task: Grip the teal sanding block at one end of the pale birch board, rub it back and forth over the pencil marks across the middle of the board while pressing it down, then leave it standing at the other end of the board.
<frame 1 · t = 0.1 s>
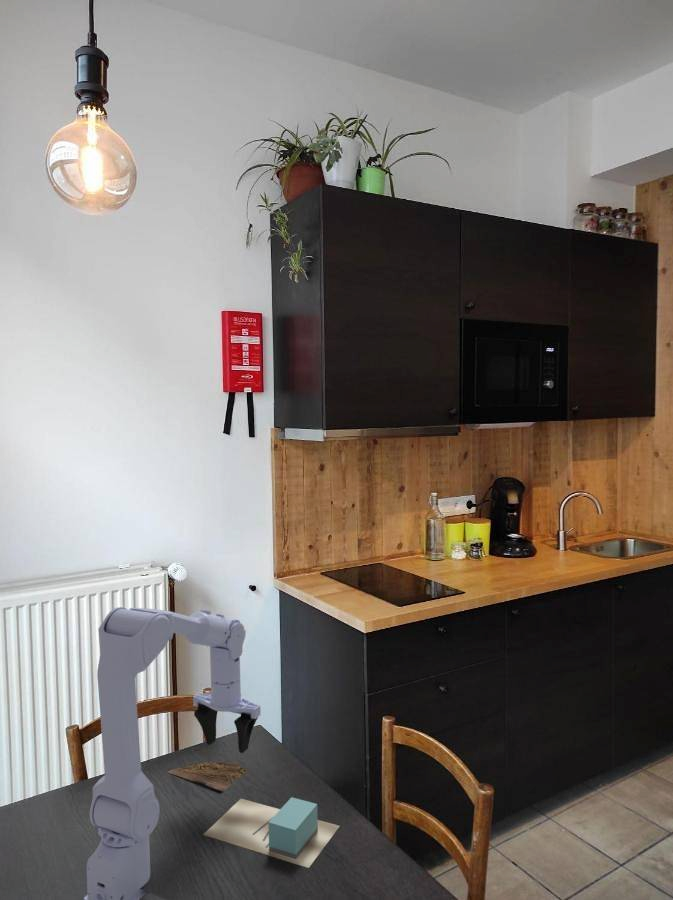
hand: (227, 746, 131), 10 cm above the table, tool pointing down, fingers open, 7 cm apart
wooden fragment: (225, 780, 139), on the table
birch board: (272, 838, 119), on the table
sanding block: (293, 840, 116), point 1 cm above the table, touching birch board
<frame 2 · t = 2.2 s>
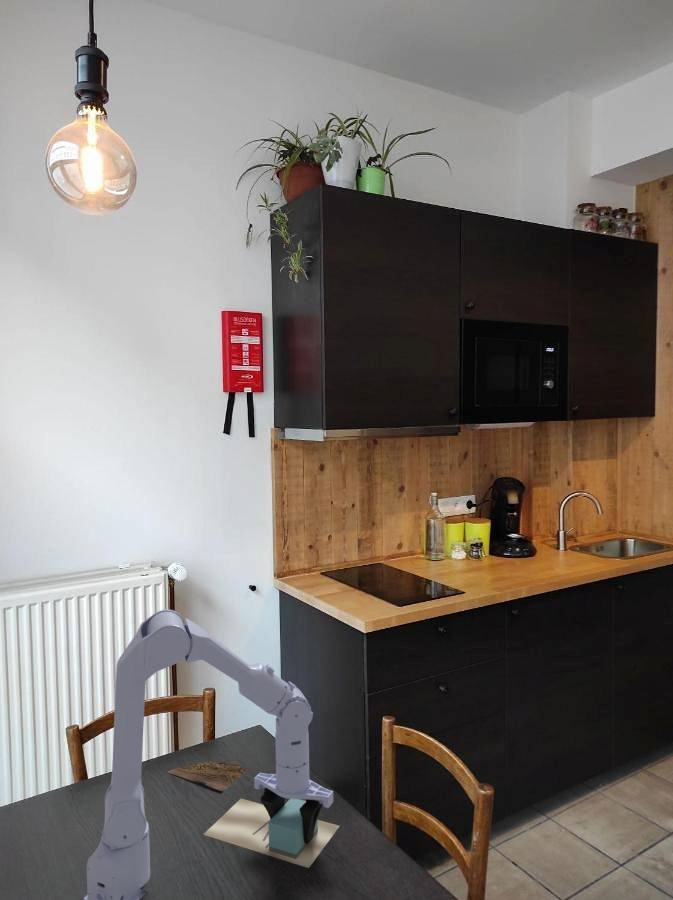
hand: (293, 835, 115), 2 cm above the table, tool pointing down, fingers closed on sanding block, 5 cm apart
sanding block: (293, 840, 116), point 1 cm above the table, touching birch board, gripper
everything else where it was.
when the fingers open (2 cm above the table, at t = 3.5 s): sanding block stays where it is, resting on birch board.
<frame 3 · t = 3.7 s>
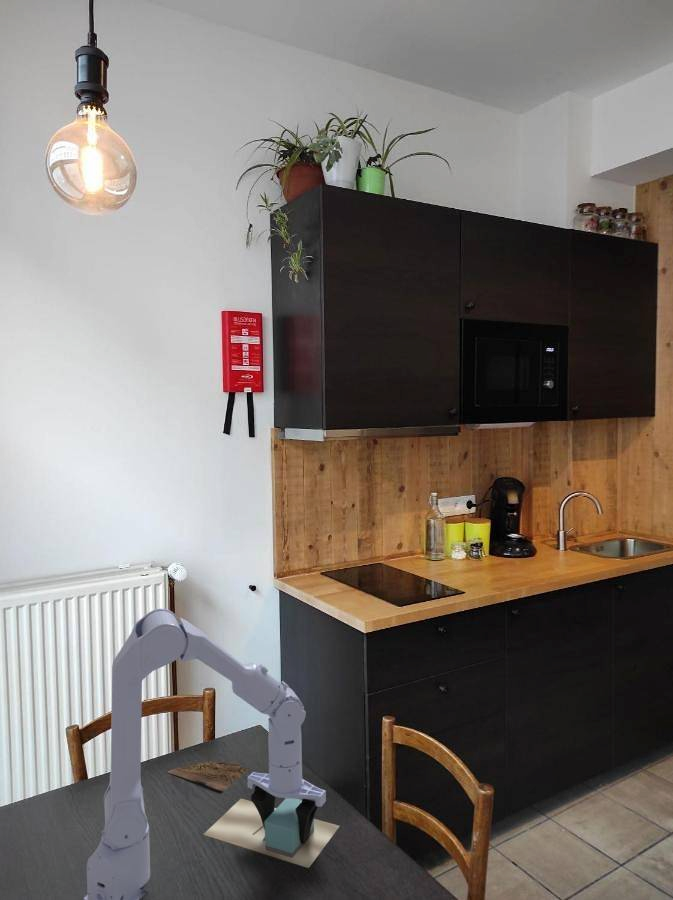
hand: (286, 834, 116), 2 cm above the table, tool pointing down, fingers open, 6 cm apart
sanding block: (290, 839, 116), point 2 cm above the table, touching birch board, gripper
everything else where it was.
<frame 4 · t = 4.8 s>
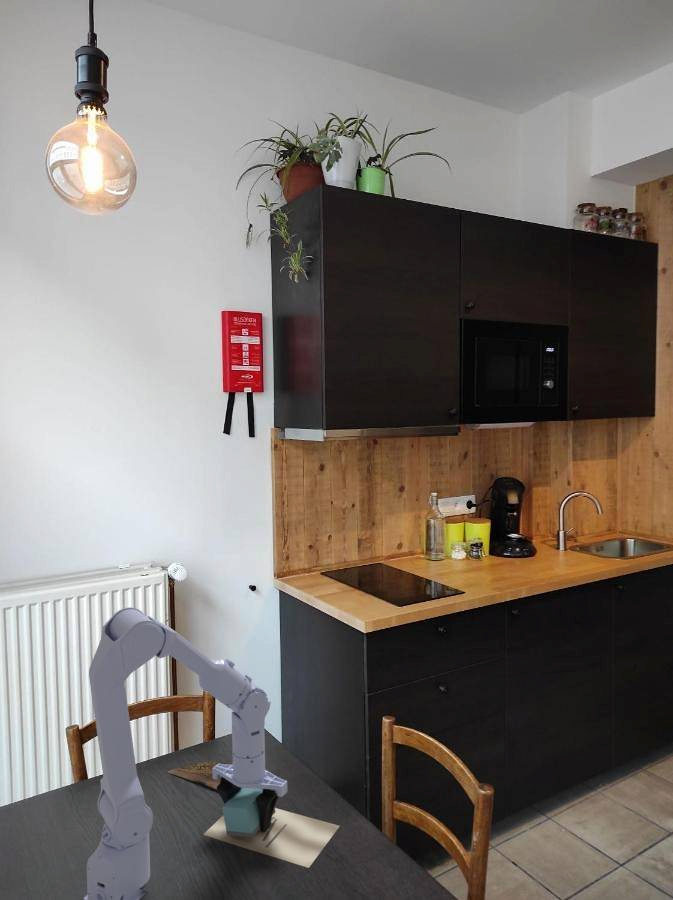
hand: (250, 824, 119), 2 cm above the table, tool pointing down, fingers closed on sanding block, 6 cm apart
sanding block: (251, 823, 119), point 2 cm above the table, tilted 10°, touching gripper
everything else where it was.
when the fingers open (2 cm above the table, at t = 10.2 s): sanding block stays where it is, resting on birch board.
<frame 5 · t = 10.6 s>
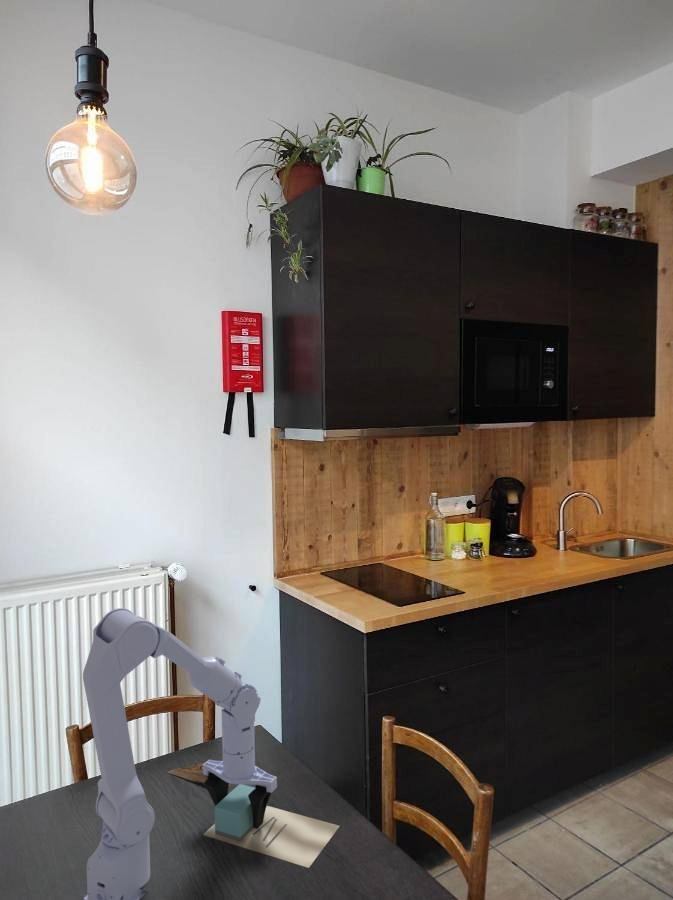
hand: (240, 820, 120), 2 cm above the table, tool pointing down, fingers open, 7 cm apart
sanding block: (240, 825, 120), point 1 cm above the table, touching birch board
everything else where it was.
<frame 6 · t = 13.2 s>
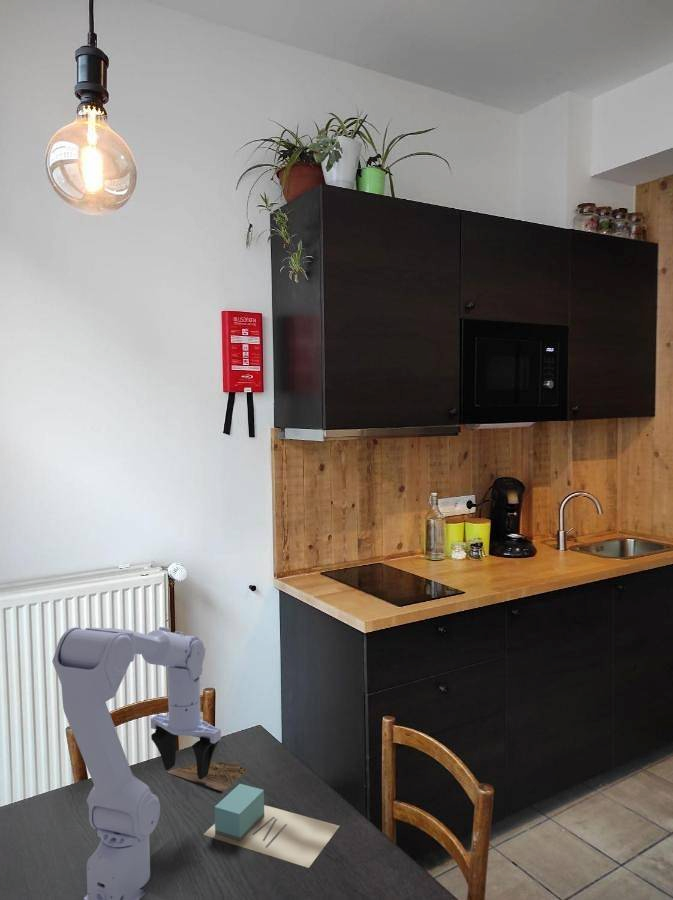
hand: (186, 771, 124), 9 cm above the table, tool pointing down, fingers open, 7 cm apart
nothing on the table moved.
at the end: sanding block 0.0 cm from the target spot on the birch board, point 1.5 cm above the birch board's base; sanding block tilted 0°; the gripper is holding nothing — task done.
